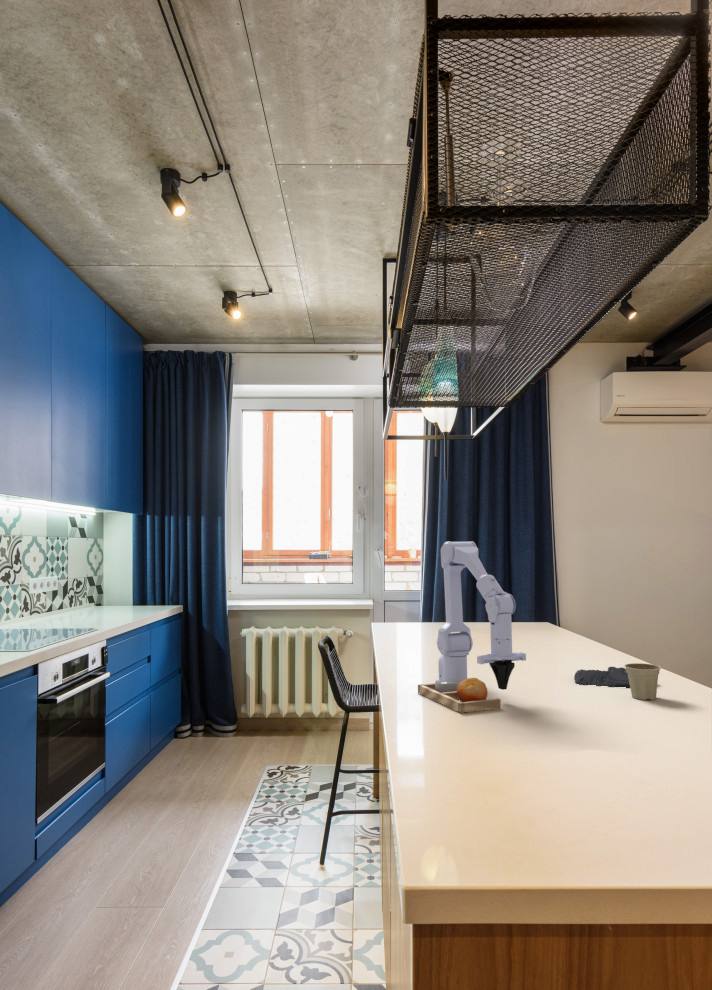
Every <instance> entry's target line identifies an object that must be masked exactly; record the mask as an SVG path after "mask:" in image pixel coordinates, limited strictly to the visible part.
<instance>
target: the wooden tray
mask: <svg viewBox="0 0 712 990" xmlns="http://www.w3.org/2000/svg"><path fill="white" fill-rule="evenodd" d="M419 693H420V694H419ZM417 694H419V695H421V694H422V695H421V696H423V695H424V696H423V697H425V696H426V697H425V698H427V697H428V698H427V699H429V698H430V699H429V700H431V699H432V700H431V701H433V700H434V702H435V703H438V702H439V703H438V704H440V703H441V704H440V705H442V704H443V705H442V706H444V705H445V706H444V707H446V706H447V707H446V708H448V707H449V709H450V708H451V709H450V710H453V711H455V712H457V711H458V712H457V713H459V712H460V713H459V714H465V713H464V712H468V713H474V712H473V711H476V712H482V711H483V710H485V711H492V710H491V709H493V710H500V709H499V708H501V709H502V706H501V704H502V702H501V701H502V700H501V699H500V698H489V699H488V698H486V700H478V701H469V702H462V701H459V700H460V698H459V696H458V694H457V691H454V692H444V693H440V692H438V691H435V682H434V683H421V684H418V685H417ZM483 712H484V711H483Z"/></svg>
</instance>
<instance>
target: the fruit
mask: <svg viewBox="0 0 712 990" xmlns="http://www.w3.org/2000/svg"><path fill="white" fill-rule="evenodd" d="M457 694H458V696H459V698H460V700H461V701H460V702H469V701H478V700H487V699H488V687H487V685H486V683H485V682H484V681H483V680H480V679H479V678H477V677H470V678H468V677H467V679H464V680H462V681H461V682H460V683H459V685H458V686H457Z"/></svg>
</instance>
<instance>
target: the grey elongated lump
mask: <svg viewBox="0 0 712 990" xmlns="http://www.w3.org/2000/svg"><path fill="white" fill-rule="evenodd" d="M573 677H574V679H573V680H574V683H575V684H576V685H577V684H579V685H578V686H587V685H596V686H595V687H601V686H608V687H607V688H615V687H626V688H625V689H631V688H630V683H629V677H628V673H627V671H626V668H625V667H616V666H609V667H607V670H599V669H596V670H595V669H587V670H586V669H582V668H581V669H577V671H576V672H575V673H574V676H573Z"/></svg>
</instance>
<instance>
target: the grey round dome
mask: <svg viewBox="0 0 712 990" xmlns="http://www.w3.org/2000/svg"><path fill="white" fill-rule="evenodd" d="M437 680H438V681H436V680H435V682H434V683H435V691H438V692H440V693H444V692H454V691H457V686H458V685H459V683H458V682H457V681H454V680H439V679H437Z"/></svg>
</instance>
